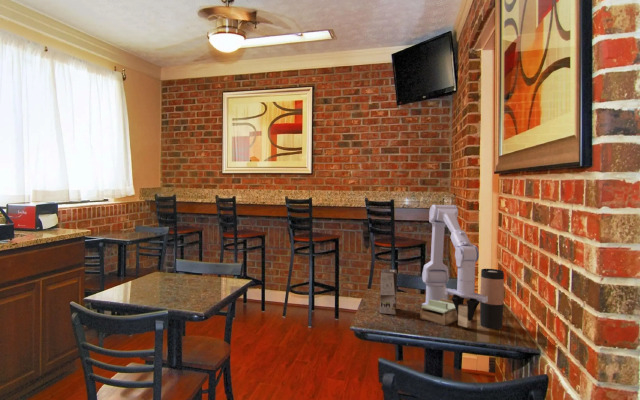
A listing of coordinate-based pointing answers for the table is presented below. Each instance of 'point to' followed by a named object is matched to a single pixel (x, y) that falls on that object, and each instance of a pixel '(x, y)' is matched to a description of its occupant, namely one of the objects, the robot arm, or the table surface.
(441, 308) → the cabinet door
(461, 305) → the wooden block
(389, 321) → the table surface
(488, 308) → the travel mug
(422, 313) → the wooden box
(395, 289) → the coffee box
